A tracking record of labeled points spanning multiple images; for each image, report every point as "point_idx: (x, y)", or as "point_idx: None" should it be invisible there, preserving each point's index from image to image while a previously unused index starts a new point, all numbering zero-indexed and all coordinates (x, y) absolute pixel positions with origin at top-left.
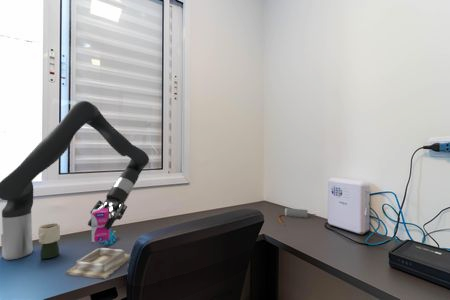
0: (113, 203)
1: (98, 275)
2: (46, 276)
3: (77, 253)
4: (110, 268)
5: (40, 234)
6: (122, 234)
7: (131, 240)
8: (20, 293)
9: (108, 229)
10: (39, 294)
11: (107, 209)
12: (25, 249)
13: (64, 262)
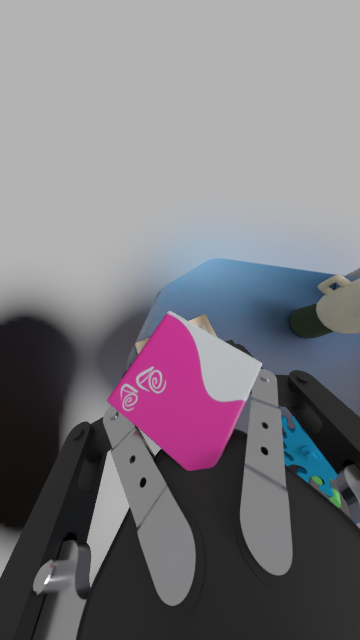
0: (171, 619)
1: (147, 338)
2: (222, 297)
3: (278, 361)
4: None
5: (344, 277)
6: None
7: None
8: (202, 267)
9: None
10: (179, 278)
11: (167, 442)
12: None
13: (253, 330)
